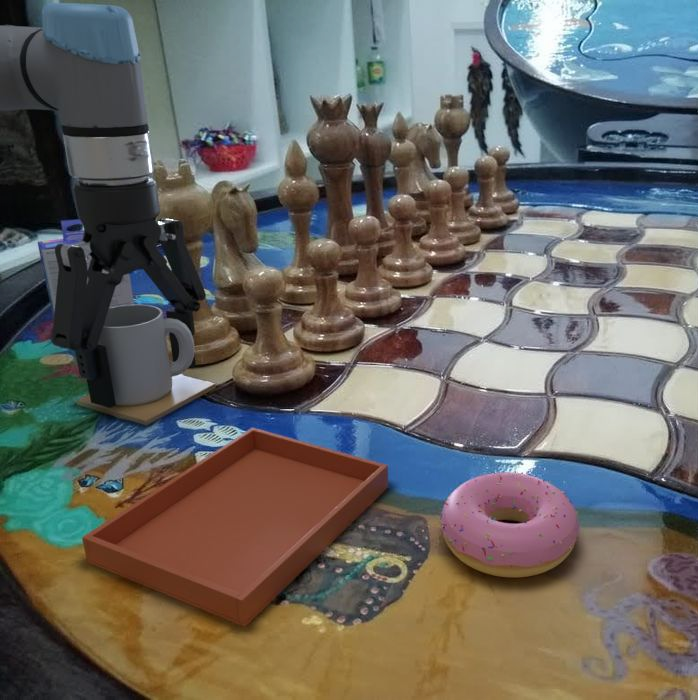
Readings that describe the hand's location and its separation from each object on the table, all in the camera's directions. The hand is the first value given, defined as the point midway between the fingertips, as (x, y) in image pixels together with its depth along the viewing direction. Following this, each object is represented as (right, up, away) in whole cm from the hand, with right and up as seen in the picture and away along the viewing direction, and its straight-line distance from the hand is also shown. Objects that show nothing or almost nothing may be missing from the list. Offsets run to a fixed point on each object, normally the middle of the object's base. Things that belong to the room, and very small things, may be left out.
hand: (146, 383), depth 80 cm
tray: (+17, -10, -20) cm, 28 cm away
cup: (0, -1, +1) cm, 1 cm away
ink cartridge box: (-15, +6, +19) cm, 25 cm away
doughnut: (+38, -12, -21) cm, 45 cm away
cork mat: (0, -1, +1) cm, 2 cm away
